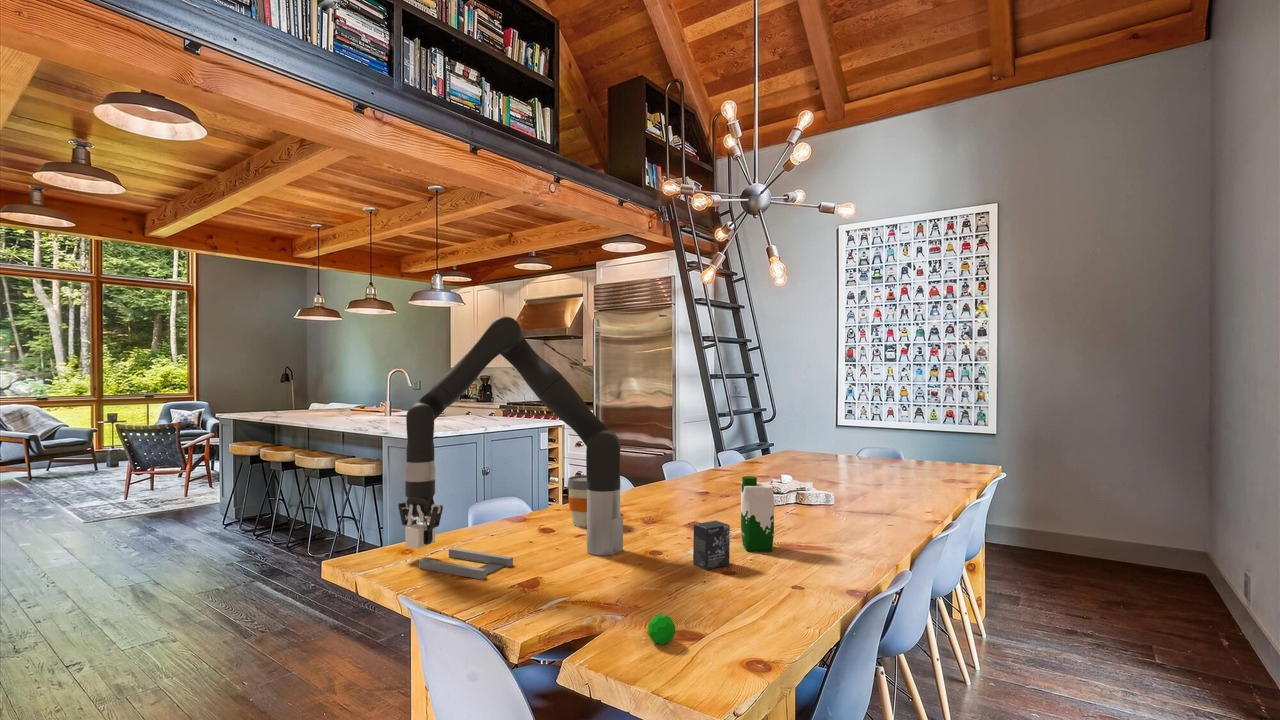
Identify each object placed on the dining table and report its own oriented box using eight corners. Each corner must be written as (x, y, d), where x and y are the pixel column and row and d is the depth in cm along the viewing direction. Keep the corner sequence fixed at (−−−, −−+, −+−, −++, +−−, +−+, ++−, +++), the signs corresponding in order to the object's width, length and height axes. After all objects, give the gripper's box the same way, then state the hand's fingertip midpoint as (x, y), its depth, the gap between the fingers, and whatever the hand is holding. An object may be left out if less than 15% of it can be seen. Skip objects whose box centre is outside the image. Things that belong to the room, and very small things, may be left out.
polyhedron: (658, 651, 105) (658, 623, 106) (642, 641, 109) (642, 614, 110) (680, 644, 108) (680, 617, 108) (664, 634, 112) (664, 608, 112)
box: (706, 570, 149) (706, 528, 150) (692, 565, 154) (692, 523, 154) (730, 565, 154) (730, 524, 154) (715, 559, 158) (715, 519, 159)
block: (435, 542, 161) (435, 523, 161) (418, 548, 155) (418, 528, 156) (422, 540, 163) (422, 522, 163) (405, 546, 157) (405, 527, 157)
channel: (512, 565, 153) (513, 557, 154) (481, 579, 143) (482, 571, 143) (452, 555, 162) (452, 547, 162) (419, 568, 151) (419, 560, 151)
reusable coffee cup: (608, 519, 203) (608, 475, 203) (602, 529, 190) (602, 481, 191) (571, 518, 204) (571, 474, 205) (563, 528, 192) (563, 481, 192)
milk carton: (739, 544, 174) (738, 474, 174) (770, 544, 173) (770, 474, 174) (743, 552, 165) (743, 479, 165) (776, 553, 165) (776, 480, 165)
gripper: (451, 477, 160) (451, 542, 159) (411, 474, 166) (411, 536, 165) (430, 482, 153) (430, 549, 153) (389, 478, 159) (389, 543, 159)
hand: (420, 542), depth 159 cm, fingers closed on block, 4 cm apart
